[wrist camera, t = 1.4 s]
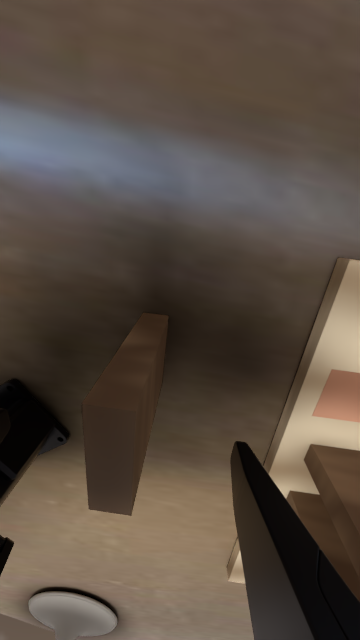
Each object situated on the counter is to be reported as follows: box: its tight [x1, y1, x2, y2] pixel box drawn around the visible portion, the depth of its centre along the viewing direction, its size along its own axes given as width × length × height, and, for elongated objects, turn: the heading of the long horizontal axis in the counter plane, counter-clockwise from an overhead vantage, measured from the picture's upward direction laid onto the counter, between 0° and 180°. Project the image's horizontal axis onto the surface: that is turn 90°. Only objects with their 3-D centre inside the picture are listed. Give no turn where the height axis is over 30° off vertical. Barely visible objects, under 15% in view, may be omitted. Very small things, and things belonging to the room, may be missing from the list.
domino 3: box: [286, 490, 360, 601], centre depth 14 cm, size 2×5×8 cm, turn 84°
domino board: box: [227, 258, 360, 584], centre depth 17 cm, size 32×9×1 cm, turn 174°
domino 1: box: [82, 312, 169, 516], centre depth 11 cm, size 2×5×8 cm, turn 173°
